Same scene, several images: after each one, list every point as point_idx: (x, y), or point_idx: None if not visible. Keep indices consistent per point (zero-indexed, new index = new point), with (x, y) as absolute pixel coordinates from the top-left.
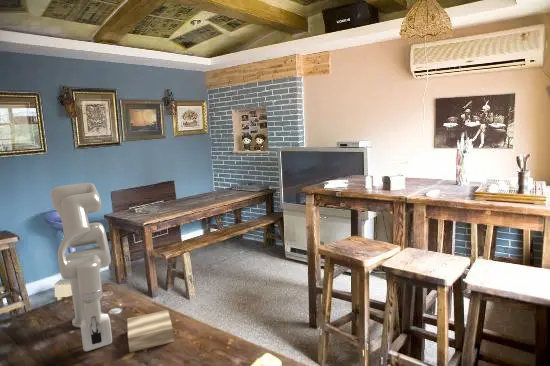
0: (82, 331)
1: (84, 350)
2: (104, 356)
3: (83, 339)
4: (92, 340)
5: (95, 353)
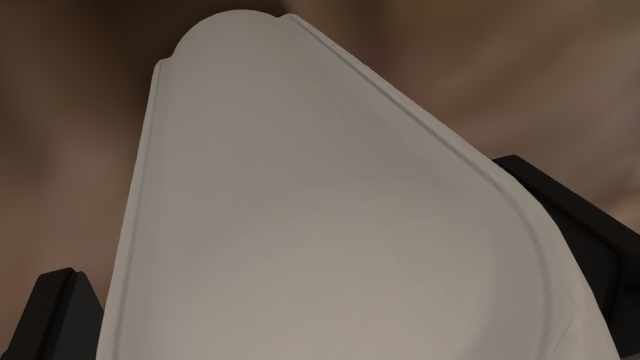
0: (164, 215)
1: (182, 39)
2: (6, 311)
3: (172, 108)
4: (27, 330)
5: (100, 194)
